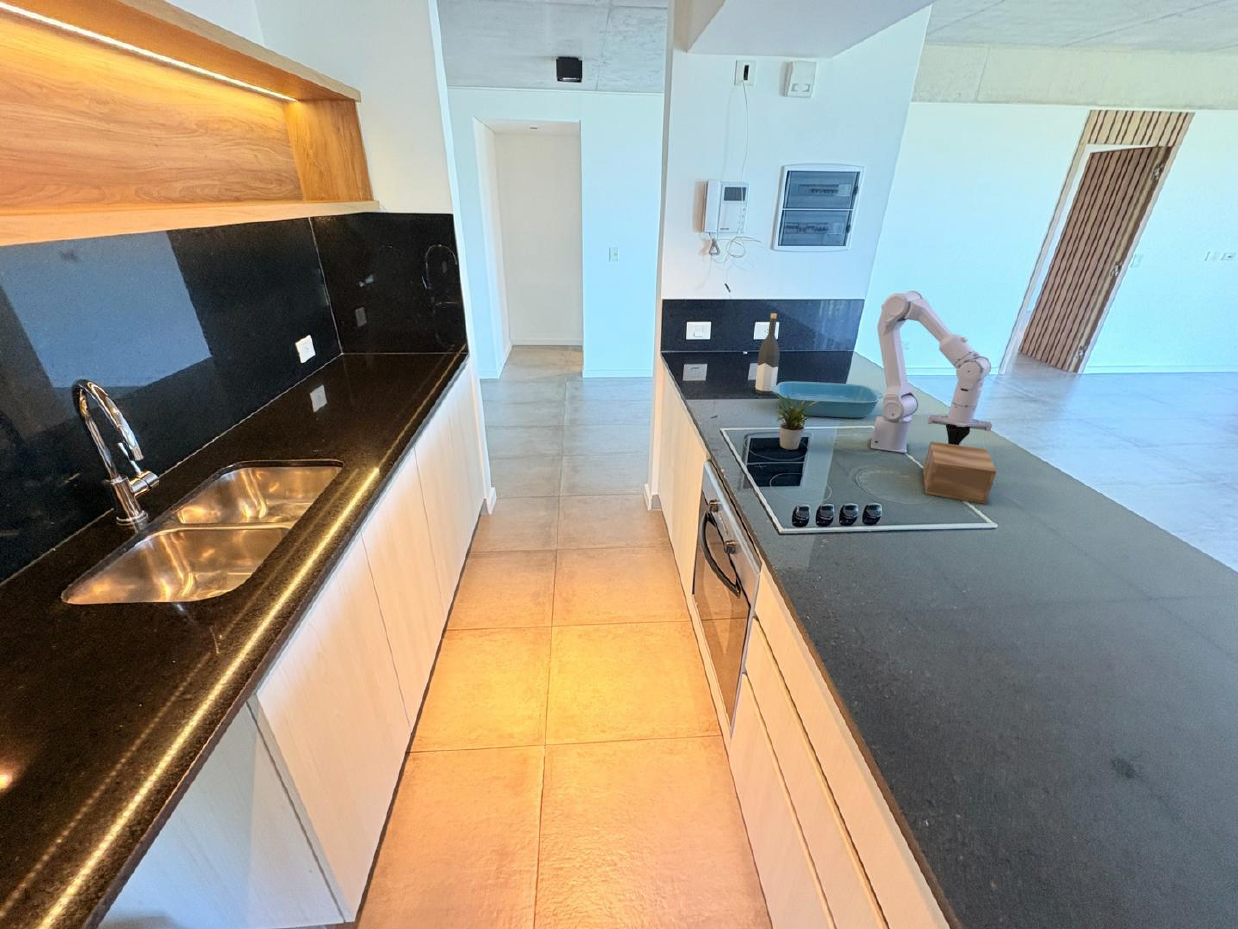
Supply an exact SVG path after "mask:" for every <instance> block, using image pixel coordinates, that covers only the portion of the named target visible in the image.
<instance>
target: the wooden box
mask: <svg viewBox="0 0 1238 929" xmlns="http://www.w3.org/2000/svg"><path fill="white" fill-rule="evenodd" d="M996 474H997V470H996V467H995V465H994V462H993V461H992V458H991V455H990V453H989V451H988V449H987V448H982V447H981V448H980V447H973V446H968V445H960V444H959V445H953V444H948V443H946V442H938V441H930V442H929V446H928V450H927V454H926V457H925V461H924V465H923V469H922V475H923V482H924V489H925V490H924V491H925V494H926V495H931V496H936V497H943V498H948V499H954V500H960V501H965V502H971V503H975V504H976V503H977V504H983V505H986V504H987V503H988V500H989V496H990V492H991V490H992V486H993V484H994V482H995V477H996Z"/></svg>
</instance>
